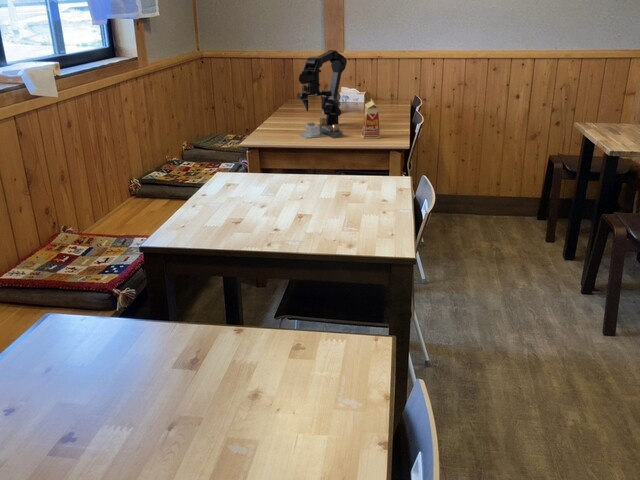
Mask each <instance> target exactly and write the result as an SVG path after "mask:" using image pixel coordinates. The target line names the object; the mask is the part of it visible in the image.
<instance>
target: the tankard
mask: <svg viewBox="0 0 640 480" xmlns="http://www.w3.org/2000/svg"><path fill="white" fill-rule="evenodd" d="M328 90H329V91H330V89H328ZM341 98H342V97H341V93H340V90H339V89H338V94H337V100H338V103H339V104H338V107H339V109H340V107H341V104H342V103H341V101H340V100H341ZM340 110H341V111H342V108H341V109H340ZM321 114H323V115H324V110H322V109H321Z"/></svg>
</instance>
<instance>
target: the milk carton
mask: <svg viewBox="0 0 640 480" xmlns="http://www.w3.org/2000/svg"><path fill="white" fill-rule="evenodd" d="M364 105H365V107H364V117H363V124H362V125H363V126H362V129H361V134H360V136H361V137H362V138H363V139H371V140H373V139H374V140H375V139H380V138H381V125H380V124H381V123H380V121H381V120H380V112H379V107H378V106H377V105H376V103H375V102H374V99H372V98H370V101H368V102H367V103H365V104H364Z"/></svg>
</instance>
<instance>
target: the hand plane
mask: <svg viewBox="0 0 640 480" xmlns="http://www.w3.org/2000/svg"><path fill="white" fill-rule="evenodd" d="M317 125H318V126H320V132H321V133H323V134H325V135H327V137H330V138H331V139H338V138H343V133H344V132H343V131H342V130H341V129H340V126H339V125H340V124H339V123H338V124H332V126H330V125H327V124H326V117H319V124H317Z"/></svg>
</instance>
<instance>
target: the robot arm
mask: <svg viewBox="0 0 640 480" xmlns="http://www.w3.org/2000/svg"><path fill="white" fill-rule="evenodd" d="M347 60H348V59H347V58H346V57H345V56H344V55H343V54H341V53H340V52H338V51H337V50H335V49H329V50H327V51H326V52H324V53H322V54H319V55H317V56H310V57H308V58H307V59H306V61H305V64H304V67H303V70H301V73H300V74H299V77H298V81H299V83H300V84H301V85H302V86H301V90H302V91H301V92H298V93H297V95H296V96H297V97H296V99H298V100H300V101H302V103H303V105H304V107H305V110H306V112H309V99H308V98H312V97H320V98H321V99H320V100H321V111H322V110H324V114H323V115H325V116H326V117H325V118H326V124H327V125H330V126H332V124H339V116H341V115H342V109H341V110H340V107H338V104H339V103H338V100H337V94H338V90H339V88H340V83H341V77H342V73H343V72H344V71H345V69H346V66H347V63H348V61H347ZM328 61H329V63H331V64H330V65H331V69H332V73H331V74H332V75H331V81H330V85H329V89H323V90H320V87H321V83H320V73H322V70H321V69H320V68H322V67H323V64H325V63H327V62H328ZM329 90H330V91H329ZM339 127H340V124H339Z"/></svg>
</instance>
